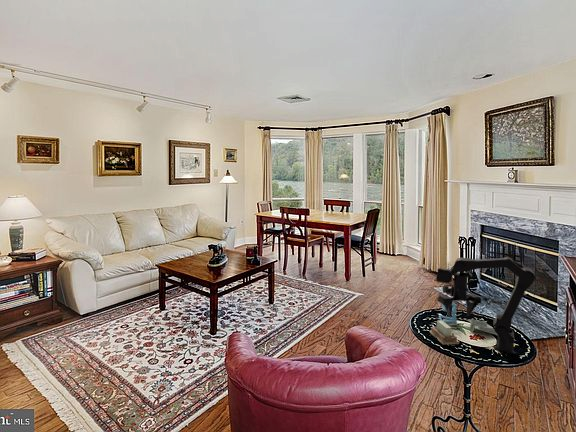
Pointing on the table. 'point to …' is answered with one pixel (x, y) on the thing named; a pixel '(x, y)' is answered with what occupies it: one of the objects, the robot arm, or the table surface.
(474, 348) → the table surface
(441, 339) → the brown rectangular tray
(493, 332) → the metal bracket
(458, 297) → the robot arm
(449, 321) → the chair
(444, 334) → the pale rectangular block
